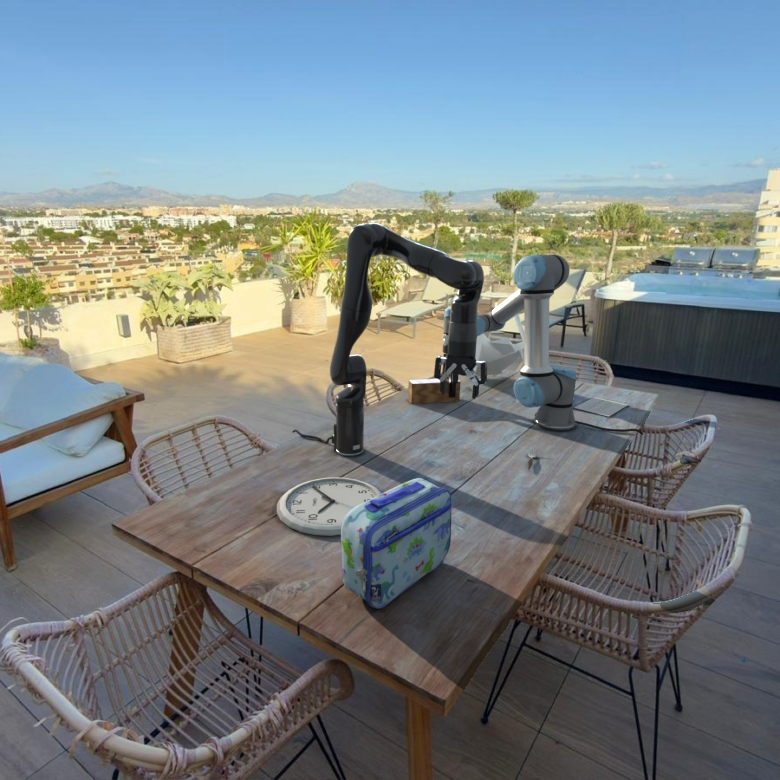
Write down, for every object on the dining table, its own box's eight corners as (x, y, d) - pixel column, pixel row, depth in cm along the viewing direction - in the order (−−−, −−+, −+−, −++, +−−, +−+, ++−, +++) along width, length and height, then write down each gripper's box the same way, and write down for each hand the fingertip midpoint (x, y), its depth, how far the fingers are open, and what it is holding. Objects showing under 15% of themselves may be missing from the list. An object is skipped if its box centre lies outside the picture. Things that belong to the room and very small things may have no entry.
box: (455, 397, 236) (456, 377, 233) (459, 401, 230) (460, 381, 228) (408, 399, 231) (408, 379, 229) (411, 403, 226) (412, 383, 223)
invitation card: (608, 416, 214) (573, 407, 224) (608, 416, 214) (573, 408, 224) (628, 404, 229) (594, 396, 238) (628, 405, 229) (594, 397, 238)
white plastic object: (482, 419, 265) (461, 396, 241) (463, 346, 287) (443, 319, 263) (553, 395, 253) (539, 368, 228) (528, 321, 275) (513, 290, 250)
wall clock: (392, 527, 129) (268, 531, 127) (391, 533, 130) (269, 537, 127) (383, 473, 158) (282, 475, 155) (383, 478, 158) (282, 480, 156)
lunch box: (370, 622, 101) (370, 527, 94) (335, 595, 108) (333, 505, 102) (455, 565, 118) (460, 481, 112) (420, 544, 125) (423, 465, 119)
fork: (524, 470, 165) (524, 465, 164) (529, 451, 179) (529, 446, 179) (532, 472, 164) (533, 466, 163) (537, 452, 178) (537, 447, 178)
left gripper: (432, 338, 138) (430, 396, 143) (486, 343, 133) (481, 403, 138) (440, 333, 145) (438, 388, 150) (491, 337, 140) (487, 395, 145)
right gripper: (436, 339, 234) (434, 387, 241) (451, 349, 215) (448, 402, 221) (452, 338, 235) (449, 387, 242) (468, 348, 216) (465, 401, 223)
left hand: (459, 395), depth 144 cm, fingers open, 8 cm apart
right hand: (449, 394), depth 232 cm, fingers open, 8 cm apart
